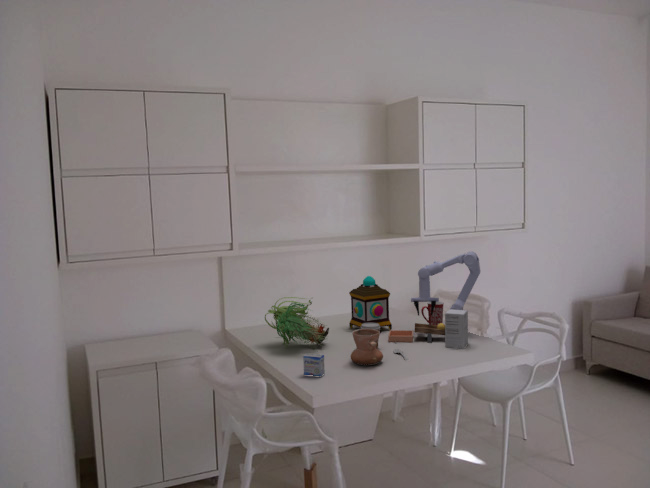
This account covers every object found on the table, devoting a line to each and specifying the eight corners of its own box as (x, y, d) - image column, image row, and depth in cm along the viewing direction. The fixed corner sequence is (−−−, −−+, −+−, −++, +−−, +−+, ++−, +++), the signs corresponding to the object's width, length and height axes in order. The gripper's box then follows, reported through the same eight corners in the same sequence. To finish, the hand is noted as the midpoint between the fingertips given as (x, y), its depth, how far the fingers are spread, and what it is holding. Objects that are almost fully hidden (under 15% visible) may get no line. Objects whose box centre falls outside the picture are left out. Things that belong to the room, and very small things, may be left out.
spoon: (399, 351, 268) (399, 347, 268) (416, 363, 248) (416, 359, 248) (391, 352, 267) (391, 348, 267) (407, 364, 247) (407, 360, 247)
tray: (413, 336, 293) (413, 330, 293) (412, 342, 281) (412, 336, 281) (390, 335, 295) (389, 330, 295) (388, 342, 283) (388, 336, 283)
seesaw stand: (431, 336, 292) (431, 327, 291) (431, 342, 279) (431, 333, 279) (427, 336, 292) (427, 327, 292) (427, 342, 280) (427, 333, 279)
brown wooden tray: (445, 329, 294) (446, 323, 294) (446, 337, 279) (447, 330, 279) (414, 326, 297) (415, 320, 297) (414, 333, 282) (414, 327, 281)
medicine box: (303, 376, 235) (302, 356, 234) (307, 373, 239) (306, 353, 238) (321, 377, 232) (320, 357, 231) (325, 374, 236) (324, 354, 235)
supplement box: (449, 342, 279) (449, 308, 277) (468, 343, 275) (468, 310, 273) (445, 347, 270) (444, 312, 269) (464, 349, 266) (463, 314, 265)
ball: (444, 330, 286) (445, 322, 285) (445, 332, 282) (445, 324, 281) (436, 329, 286) (437, 321, 286) (437, 331, 283) (437, 323, 282)
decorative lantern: (346, 328, 315) (344, 275, 313) (376, 323, 324) (374, 272, 322) (364, 335, 298) (362, 279, 295) (395, 330, 306) (394, 276, 304)
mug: (440, 324, 317) (440, 300, 316) (446, 327, 308) (446, 303, 307) (419, 325, 315) (418, 302, 314) (424, 329, 306) (423, 305, 305)
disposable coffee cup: (367, 345, 279) (367, 321, 278) (384, 347, 273) (383, 323, 272) (357, 350, 271) (356, 325, 270) (374, 352, 265) (373, 327, 264)
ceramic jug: (390, 366, 244) (389, 334, 243) (359, 370, 240) (358, 337, 238) (373, 355, 261) (372, 325, 260) (344, 359, 256) (343, 328, 255)
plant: (326, 344, 257) (258, 310, 261) (311, 378, 278) (249, 346, 283) (349, 300, 279) (287, 269, 283) (334, 334, 300) (276, 305, 304)
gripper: (438, 288, 300) (438, 313, 301) (410, 288, 303) (411, 313, 304) (438, 290, 293) (439, 316, 295) (410, 291, 296) (411, 316, 297)
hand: (425, 315), depth 299 cm, fingers open, 6 cm apart
